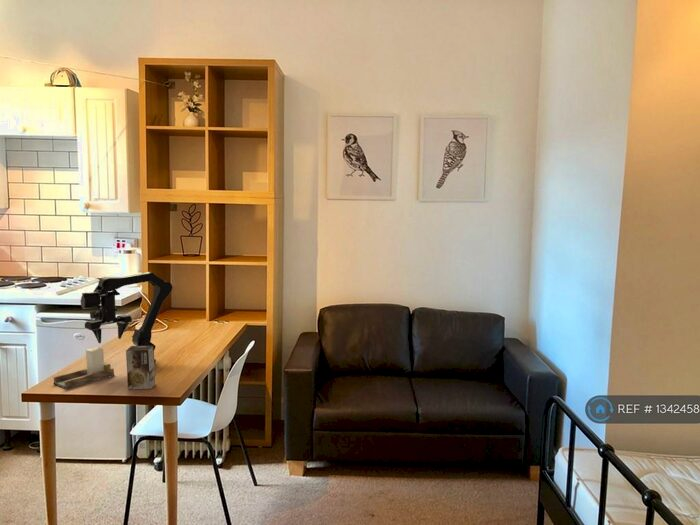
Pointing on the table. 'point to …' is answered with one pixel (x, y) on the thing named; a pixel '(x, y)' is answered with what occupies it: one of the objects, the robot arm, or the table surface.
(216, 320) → the table surface
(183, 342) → the table surface
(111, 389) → the table surface
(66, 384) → the track
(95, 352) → the block
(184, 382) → the table surface
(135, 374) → the coffee box
